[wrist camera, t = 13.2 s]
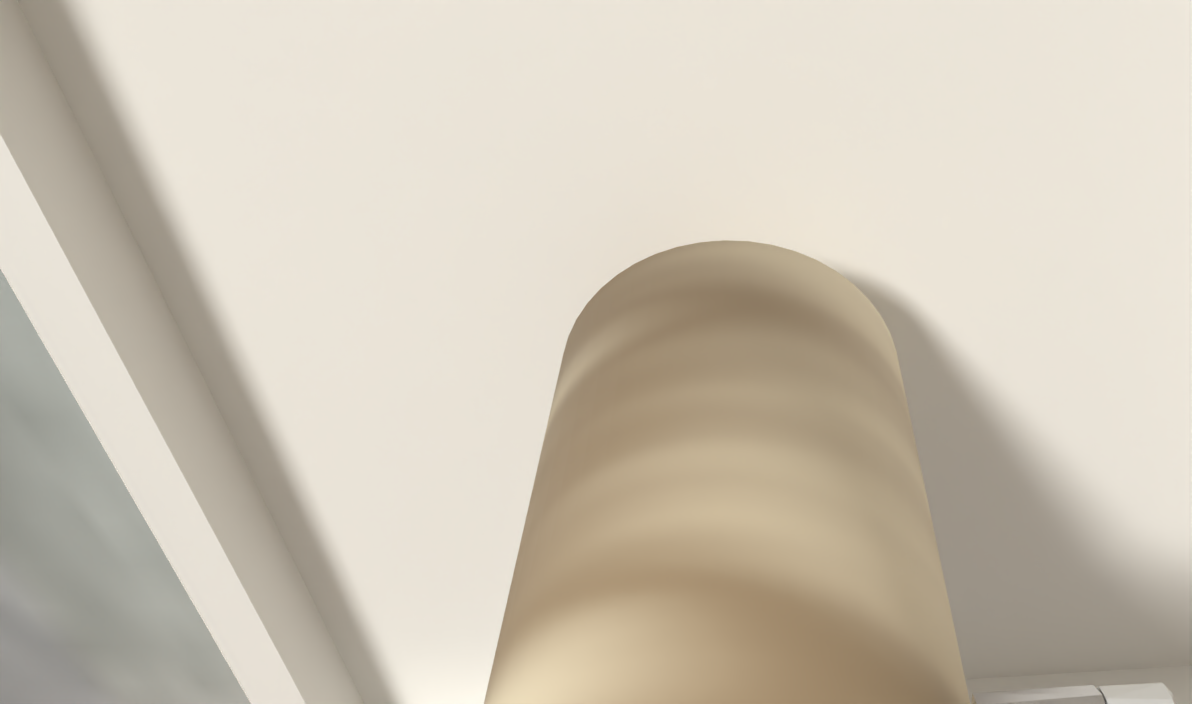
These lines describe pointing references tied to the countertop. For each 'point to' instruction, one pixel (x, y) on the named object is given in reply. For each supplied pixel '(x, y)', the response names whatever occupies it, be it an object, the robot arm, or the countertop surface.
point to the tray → (581, 268)
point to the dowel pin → (728, 501)
